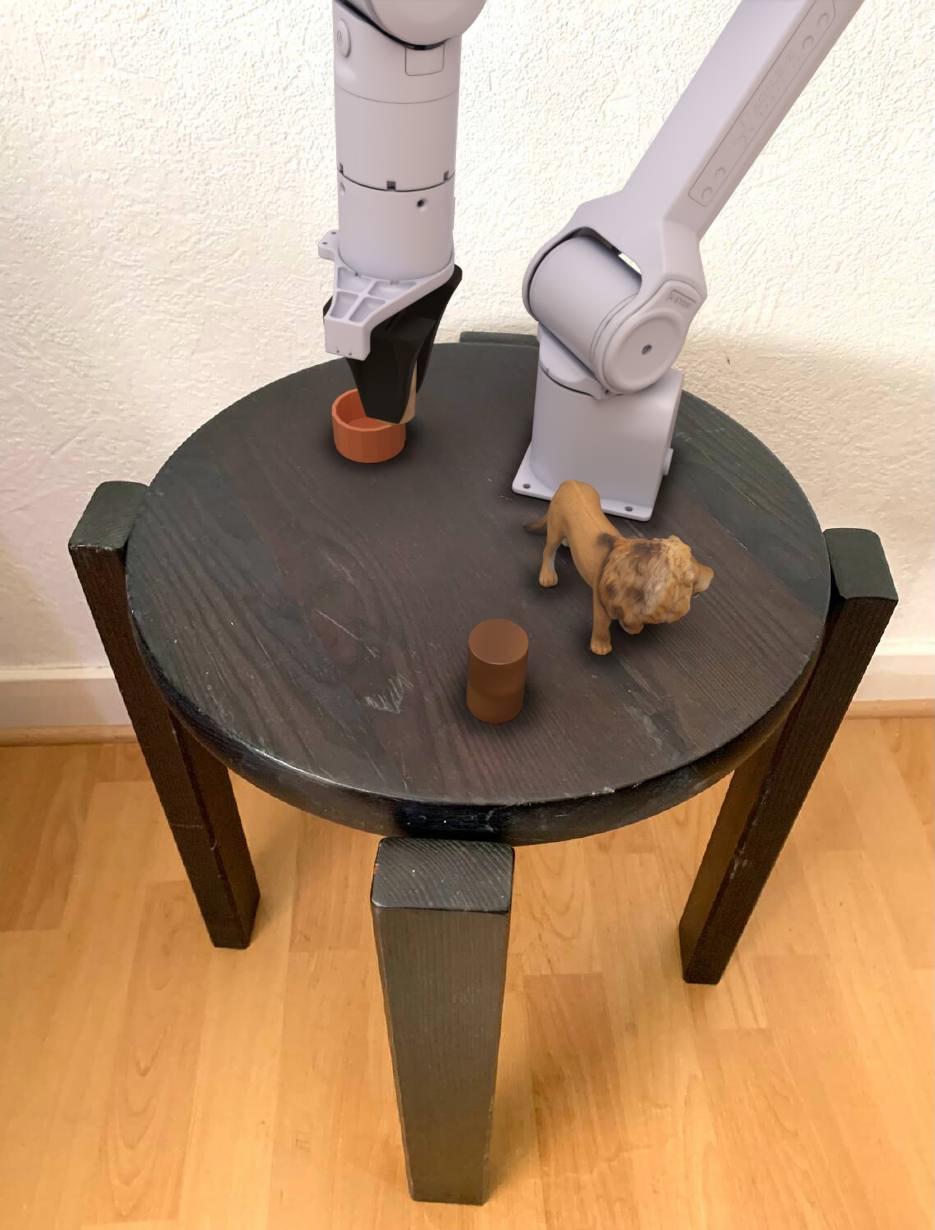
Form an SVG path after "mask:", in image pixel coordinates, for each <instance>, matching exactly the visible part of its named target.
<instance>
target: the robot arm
mask: <svg viewBox="0 0 935 1230" xmlns="http://www.w3.org/2000/svg"><path fill="white" fill-rule="evenodd" d="M865 1H866V0H741V1H740V2H739V4H738V6H737V7H736V9H735V10H734V12H733V13H732V15H731V17H730V18H729V20H728V22H727V23H726V24H725V26H724V27H723V29H722V31H721V32H720V34H719V35H718V37H717V39H716V40H715V41H714V44H713V45H712V47H711V48H710V50H709V51H708V53H707V55H706V56H705V57H704V59H703V61H702V62H701V64H700V66H699V67H698V69H697V71H696V72H695V74H694V75H693V77H692V78H691V80H690V81H689V82H688V84H687V86H686V88H685V89H684V91H683V92H682V94H681V96H680V97H679V99H678V100H677V101H676V103H675V105H674V106H673V108H672V110H671V111H670V113H669V115H668V116H667V117H666V118H665V121H664V122H663V124H662V126H661V127H660V129H659V130H658V132H657V133H656V135H655V136H654V138H653V140H652V142H651V143H650V144H649V146H648V148H647V149H646V151H645V153H644V154H643V156H642V157H641V158H640V160H639V162H638V163H637V165H636V166H635V169H634V170H633V171H632V173H631V174H630V176H629V178H628V179H627V181H626V182H625V184H624V185H623V186H622V188H621V189H620V190H618V191H616V192H613V193H610V194H607V195H603V196H600V197H595V198H593V199H590V200H587V201H584V202H582V203H580V204H578V206H577V208H576V209H575V211H574V212H573V214H572V215H571V218H570V219H569V220H568V222H567V223H566V224H565V225H564V227H563V228H561V230H560V231H559V232H557V233H556V234H555V235H554V236H552V237H551V238H550V239H548V240H547V241H546V242H545V243H544V244H543V245H542V246H541V247H539V249H538V250H537V251H536V253H535V254H534V255H533V256H532V259H531V260H530V261H529V263H528V265H527V267H526V269H525V272H524V274H523V275H524V276H523V279H522V283H521V299H522V303H523V306H524V309H525V310H526V312H527V314H528V315H529V316H530V317H532V318H533V319H534V320H535V321H536V322H537V329H536V330H537V331H536V341H537V342H538V343H539V352H538V362H537V375H536V376H537V377H536V387H535V397H534V398H535V399H534V409H533V410H534V411H533V421H532V432H531V433H532V434H531V441H530V443H529V445H528V447H527V450H526V452H525V454H524V456H523V459H522V461H521V464H520V466H519V468H518V470H517V473H516V475H515V477H514V479H513V481H512V484H511V485H512V486H511V489H512V491H513V492H514V493H516V494H519V495H524V496H528V497H532V498H537V499H542V500H546V501H550V502H551V500H552V497H553V495H554V494H555V492H556V491H557V490H558V488H559V486H560V485H561V483H562V482H563V481H565V480H569V479H572V480H575V481H577V482H585V483H587V484H589V485H590V486H592V487H593V488H594V489H595V490H596V491H597V492H598V494H599V497H600V503H601V508H602V511H603V513H604V514H609V515H614V516H617V517H621V518H622V517H623V518H626V519H630V520H631V519H632V520H634V521H635V520H636V521H641V522H647V521H649V520H650V519H651V517H652V514H653V512H654V507H655V505H656V504H655V503H656V500H657V497H658V493H659V490H660V487H661V484H662V480H663V476H668V474H669V471H670V466H671V464H672V463H671V462H672V458H673V454H674V449H673V448H671V445H672V439H673V435H674V431H675V426H676V420H677V416H678V412H679V408H680V403H681V398H682V397H681V396H682V392H683V388H684V383H685V382H684V381H685V376H686V373H685V372H683V371H681V370H678V369H676V368H672V366H673V365H674V364H675V362H676V361H677V359H678V358H679V356H680V354H681V352H682V350H683V348H684V346H685V343H686V339H687V336H688V333H689V330H690V327H691V325H692V323H693V320H694V318H695V317H696V316H697V314H698V312H699V311H700V309H701V307H703V305H704V303H705V302H706V300H707V299H708V285H707V281H706V277H705V276H706V275H705V271H704V266H703V260H702V256H701V250H700V242H702V239H703V238H704V237H705V235H706V233H707V232H708V230H709V229H710V228H711V226H712V225H713V223H714V222H715V220H716V219H717V217H718V216H719V214H720V213H721V212H722V210H723V209H724V207H725V206H726V204H727V203H728V201H729V199H731V197H732V196H733V194H734V192H735V191H736V190H737V188H738V187H739V185H740V184H741V182H742V181H743V179H744V178H745V176H746V175H747V173H748V172H749V170H750V169H751V168H752V166H753V165H754V163H755V162H756V160H757V159H758V157H759V156H760V154H761V153H762V152H763V150H764V148H765V147H766V146H767V144H768V143H769V141H771V138H772V137H773V136H774V134H775V132H776V131H777V129H778V128H779V126H780V125H781V124H782V122H783V121H784V119H785V118H786V116H787V115H788V114H789V112H790V110H792V107H793V106H794V105H795V104H796V102H797V100H798V99H799V97H800V96H801V94H802V93H803V91H804V90H805V88H806V87H807V86H808V85H809V83H810V81H811V80H812V78H813V77H814V75H815V74H816V72H817V71H818V70H819V68H820V67H821V65H822V64H823V62H824V61H825V60H826V58H827V56H828V55H829V54H830V52H831V50H833V48H834V46H835V45H836V43H837V42H838V40H839V39H840V38H841V36H842V35H843V33H844V31H845V30H846V29H847V28H848V26H849V24H850V23H851V22H852V20H853V18H854V17H855V16H856V14H857V12H858V11H859V10H860V9H861V7H862V5H863V4H864V2H865ZM486 3H487V0H331V7H332V8H331V9H332V35H333V36H332V41H333V42H332V43H333V62H332V63H333V65H332V67H333V96H334V97H333V99H334V102H333V103H334V129H335V131H334V132H335V133H334V134H335V163H336V183H337V184H336V187H337V214H338V215H337V216H338V217H337V218H338V229H332V230H328V231H327V232H326V233H325V234H324V235H323V236H322V237H321V238H320V239H319V240H318V242H317V253H318V254H317V256H319V257H320V258H321V259H323V260H327V261H331V262H333V263H334V269H333V284H332V295H331V296H330V297H329V299H328V300H327V301H326V303H325V304H324V305H323V306H322V322H323V329H324V330H323V331H324V350H325V352H326V353H327V354H331V355H334V356H335V355H336V356H340V357H343V358H345V360H346V362H347V364H348V366H349V369H350V372H351V375H352V378H353V380H354V383H355V386H356V389H357V390H358V393H359V397H360V400H361V403H362V406H363V409H364V412H365V414H366V416H367V417H369V418H373V419H377V420H381V421H386V422H390V423H394V424H399V423H400V422H401V420H402V418H403V416H404V414H405V411H406V408H407V405H408V401H409V395H410V390H411V384H412V378H413V372H414V368H415V364H416V361H417V372H416V394H418V393H419V392H420V389H421V388H422V385H423V383H424V380H425V377H426V374H427V370H428V367H429V363H430V359H431V356H432V353H433V348H434V344H435V340H436V337H437V333H438V330H439V327H440V325H441V321H442V318H443V316H444V315H445V311H446V309H447V307H448V304H449V302H450V301H451V299H452V297H453V295H454V294H455V292H456V290H457V289H458V287H459V285H460V284H461V283H462V280H463V269H462V267H460V266H459V265H458V264H456V263H455V261H456V260H455V258H456V256H455V255H456V253H455V243H454V242H455V241H454V232H453V231H454V229H455V214H456V213H455V211H456V197H455V188H456V187H455V185H456V164H457V163H456V162H457V143H458V142H457V140H458V125H459V105H460V101H459V100H460V85H461V66H462V65H461V64H462V44H463V35H464V33H465V32H467V31H468V30H469V29H470V28H471V26H473V24H474V23H475V21H476V20H477V19H478V17H479V15H480V14H481V12H482V11H483V9H484V6H485V5H486ZM622 254H623V255H624V256H625V257H627V258H628V259H629V260H630V261H632V262H633V263H634V264H635V266H636V267H637V268H638V269H639V271H640V272H639V271H637V269H635V268H634V267H633V266H632V265H630V264H629V263H628V262H627V261H626V260H624V259H623V258H622V257H621V256H620V255H622Z"/></svg>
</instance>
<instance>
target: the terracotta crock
mask: <svg viewBox="0 0 935 1230" xmlns="http://www.w3.org/2000/svg"><path fill="white" fill-rule="evenodd" d="M331 417H332V418H331V419H332V429H333V438H334V439H333V441H334V445H335V448H336V450H337V451H338V452H339V454H340V455H341V456H343V457H344V458H345V459H348V460H350V461H353V462H356V463H362V464H376V463H382V462H385V461H388V460H390V459H392V458H395V457H396V456H397V455H398V454H400V452H401V451H402V450H403V449H404V447H405V445H406V437H407V436H406V423H403V424H399V425H388V424H384V423H381V422H379V421H377V420H376V419H373V418H369V417H367V416H366V414H365V412H364V409H363V406H362V403H361V400H360V397H359V393H358V390H357V388H353V389H350V390H347V391H346V392H344V393H342V394H341V395H339V396H337V398H336V399H335V400H334V402H333V403H332V404H331Z"/></svg>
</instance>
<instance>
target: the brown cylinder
mask: <svg viewBox="0 0 935 1230" xmlns="http://www.w3.org/2000/svg"><path fill="white" fill-rule="evenodd" d="M467 639H468V640H467V666H466V671H467V672H466V693H465V694H466V697H465V698H466V699H465V701H466V706H467V709H468V711H469V712H470V713H471V714H472V716H474V717H475V718H476V719H477V720H480V721H482V722H484V723H488V724H494V725H495V724H504V723H507V722H509V721H511V720H514V719H515V718H516V717H517V716H518V715H519V714H520V712H521V711H522V709H523V706H524V697H525V687H526V676H527V667H528V659H529V658H528V656H529V649H530V648H529V646H530V639H529V636H528V634H527V633H526V630H524V628H522V626H521V625H519V624H518V623H516V622H514V621H511V620H508V619H505V618H493V619H492V618H491V619H487V620H484V621H481V622H479V623H478V624H477V625H475V626H474V627H473V629H471V631H470V633H469V636H468V638H467Z"/></svg>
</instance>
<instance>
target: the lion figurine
mask: <svg viewBox="0 0 935 1230" xmlns="http://www.w3.org/2000/svg"><path fill="white" fill-rule="evenodd" d="M545 526H546V533H547V534H546V545H545V547H544V548H543V551H542V565H541V568H540V572H539V577H538V582H539V585H541V586H542V587H544V588H551V587H554V586H556V585H557V584H558V580H559V577H558V574H557V573H556V570H555V558H556V556H557V550H558V549H559V547H560V546H561V545H563V546H564V547H565V548H566V547H567V548H569V549H570V553H571V557H572V560H573V563H574V565H575V568H576V569H577V571H578V574H579V575H580V576H581V578H582V579H583V580H584V581H585V583H586V584H587V585H588V586H589V587H590V588H591V589H592V592H593V593H592V603H593V605H592V608H593V613H592V614H593V615H592V619H593V624H592V633H591V639H590V650H591V652H592V653H594V654H595V655H598V656H605V655H607V654H609V653H610V652H611V651H612V649H613V648H612V644H611V640H612V637H611V634H610V633H611V632H610V626H611V623H612V620H618V621H619V625H620V626H621V628H622V629H623V630H624V631H625V632H626V633H628V634H630V635H637V634H640V633H641V631H642V630H643V629H644V625H648V624H649V625H650V624H652V625H653V624H654V625H658V624H662V623H667V624H671V623H674V622H676V621H679V620H680V619H681V618H683V617H684V616H685V615H686V614H688V612H689V611H690V610H691V599H697V597H698V596H699V595H700V593H701V592H705V591H707V589H708V588H709V587H710V584H711V582H712V580H713V578H714V576H715V575H714V571H713V569H712V568H711V567H710V566H706V565H703V564H701V563H699V562H698V561H697V559H696V558H695V557H694V556H693V555H692V552H691V551H692V549H691V547H690V546H689V545H688V544H686V543H684V542H683V541H682V540H681V539H680V537H679V536H676V535H673V534H672V535H669V536H668V538H657V537H654V538H652V539H651V540H650V539H646V538H632V537H630V538H627V537H624V536H623V535H622V534H621V533H620V531H619V530H618V529H617V528H616V526H614V525H613V524H612V523H611V522H610V520H609V519H608V518H607V517H606V515H605V513H604V512H603V511H602V508H601V503H600V497H599V494H598V492H597V491H596V490H595V489H594V488H593V487H592V486H590V485H589V484H587V483H585V482H577V481H575V480H572V479H569V480H565V481H563V482H562V483H561V485H560V486H559V488H558V490H557V491H556V492H555V494H554V495H553V497H552V500H551V501H550V503H549V506H548V510H547V512H546V514H545V515H544V516H542V517H541V518H539V519H537V520H529V521H525V522H522V527H524V528H525V530H526V531H528V532H536V531H539V530H541V529H543V528H544V527H545Z"/></svg>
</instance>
